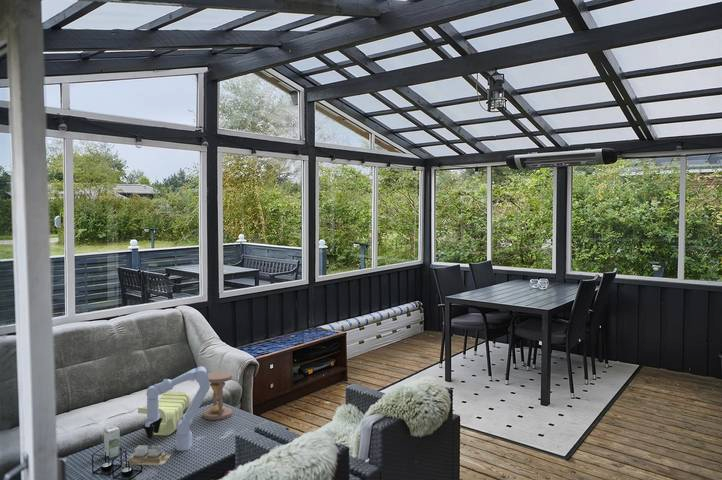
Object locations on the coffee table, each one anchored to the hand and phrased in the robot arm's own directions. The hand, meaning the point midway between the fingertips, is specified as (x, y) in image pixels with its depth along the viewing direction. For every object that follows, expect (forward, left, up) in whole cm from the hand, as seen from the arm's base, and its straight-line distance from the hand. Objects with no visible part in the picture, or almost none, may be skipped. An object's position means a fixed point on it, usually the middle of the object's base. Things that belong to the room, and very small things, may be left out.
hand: (153, 435), depth 287 cm
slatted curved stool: (-31, -6, -10) cm, 33 cm away
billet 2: (+9, +5, -8) cm, 13 cm away
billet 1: (+9, -2, -8) cm, 13 cm away
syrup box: (+4, -20, -10) cm, 23 cm away
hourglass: (-57, +17, -10) cm, 60 cm away
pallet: (+9, +1, -9) cm, 13 cm away
